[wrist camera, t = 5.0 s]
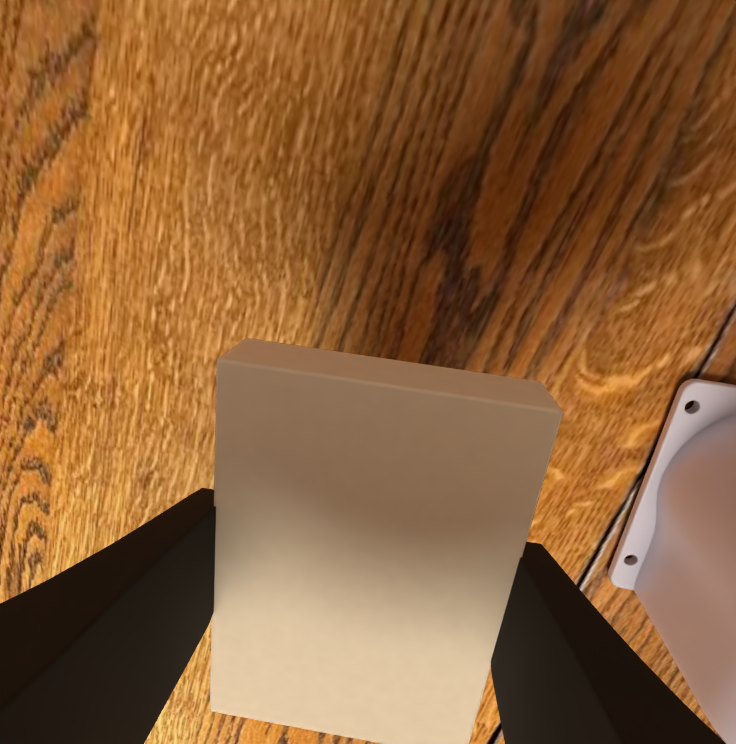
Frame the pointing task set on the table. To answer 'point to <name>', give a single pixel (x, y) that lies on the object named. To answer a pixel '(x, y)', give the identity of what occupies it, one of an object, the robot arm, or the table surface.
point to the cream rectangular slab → (367, 537)
